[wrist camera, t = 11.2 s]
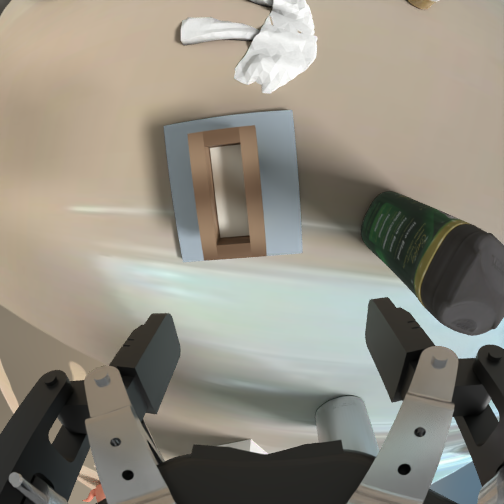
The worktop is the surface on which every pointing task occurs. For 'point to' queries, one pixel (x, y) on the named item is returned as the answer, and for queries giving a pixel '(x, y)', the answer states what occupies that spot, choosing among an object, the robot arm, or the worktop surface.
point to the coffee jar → (439, 261)
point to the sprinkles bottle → (422, 3)
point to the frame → (228, 192)
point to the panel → (271, 173)
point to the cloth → (264, 42)
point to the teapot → (96, 494)
